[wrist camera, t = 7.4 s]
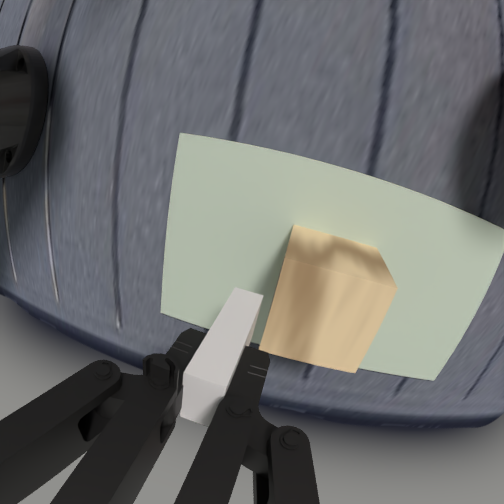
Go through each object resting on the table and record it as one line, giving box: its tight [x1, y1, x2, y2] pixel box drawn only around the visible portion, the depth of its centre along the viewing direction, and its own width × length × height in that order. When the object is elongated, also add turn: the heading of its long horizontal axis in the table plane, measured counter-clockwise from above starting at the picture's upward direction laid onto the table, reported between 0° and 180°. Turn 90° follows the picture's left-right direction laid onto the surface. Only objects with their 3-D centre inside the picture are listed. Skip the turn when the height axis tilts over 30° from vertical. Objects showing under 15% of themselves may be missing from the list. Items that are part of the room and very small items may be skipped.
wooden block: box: [259, 225, 398, 373], centre depth 18 cm, size 6×6×6 cm
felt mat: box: [161, 133, 504, 381], centre depth 21 cm, size 26×15×1 cm, turn 79°
